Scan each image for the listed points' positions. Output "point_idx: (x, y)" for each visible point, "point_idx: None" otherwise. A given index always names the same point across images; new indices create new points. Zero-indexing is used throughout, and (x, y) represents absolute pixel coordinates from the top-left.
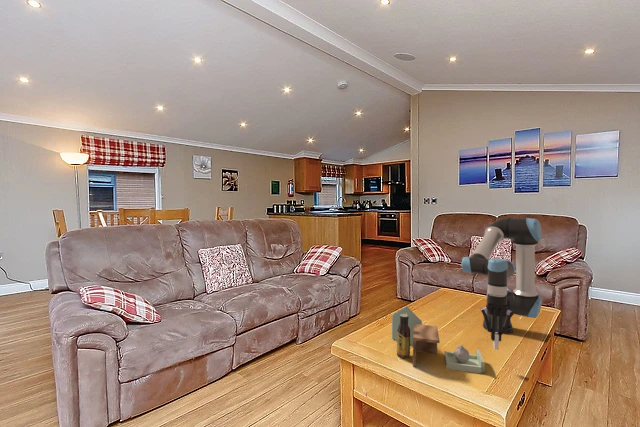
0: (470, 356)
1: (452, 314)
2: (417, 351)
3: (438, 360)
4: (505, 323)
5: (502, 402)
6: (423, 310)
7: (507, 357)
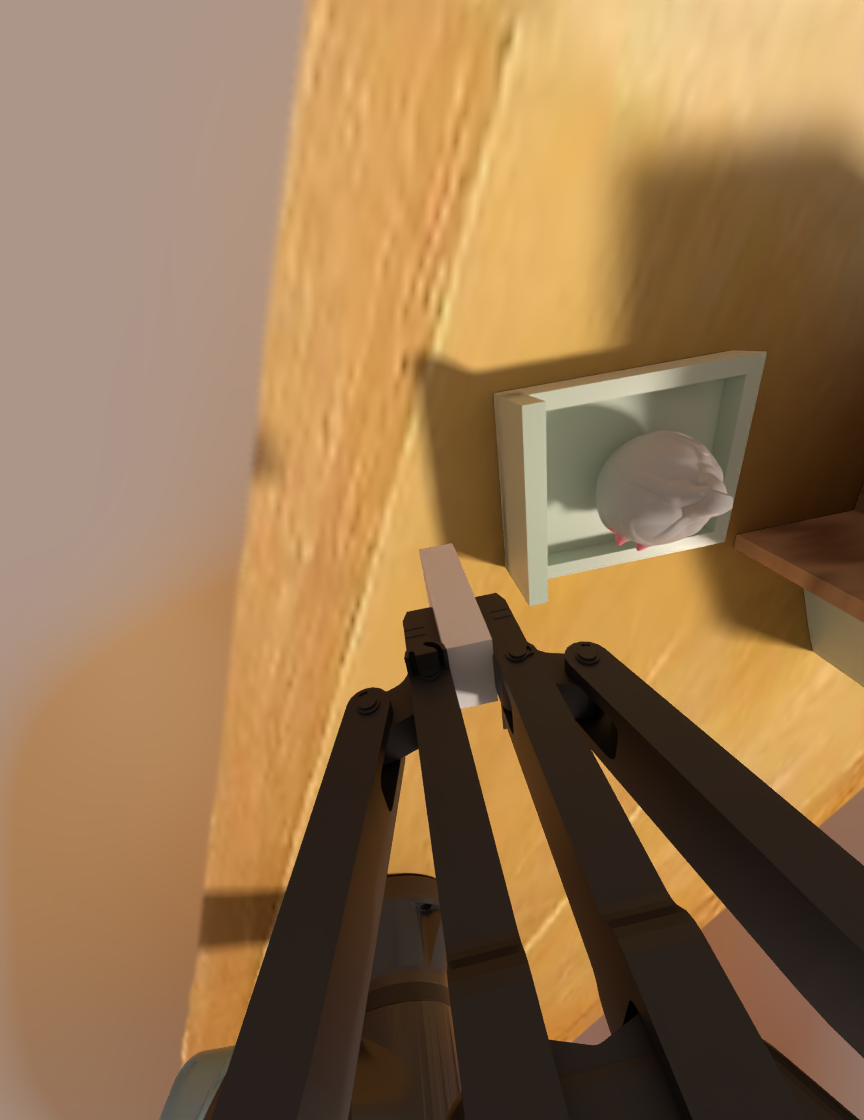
0: (566, 556)
1: (565, 924)
2: (846, 513)
3: (751, 453)
4: (361, 865)
5: None
6: (677, 904)
7: (346, 676)
